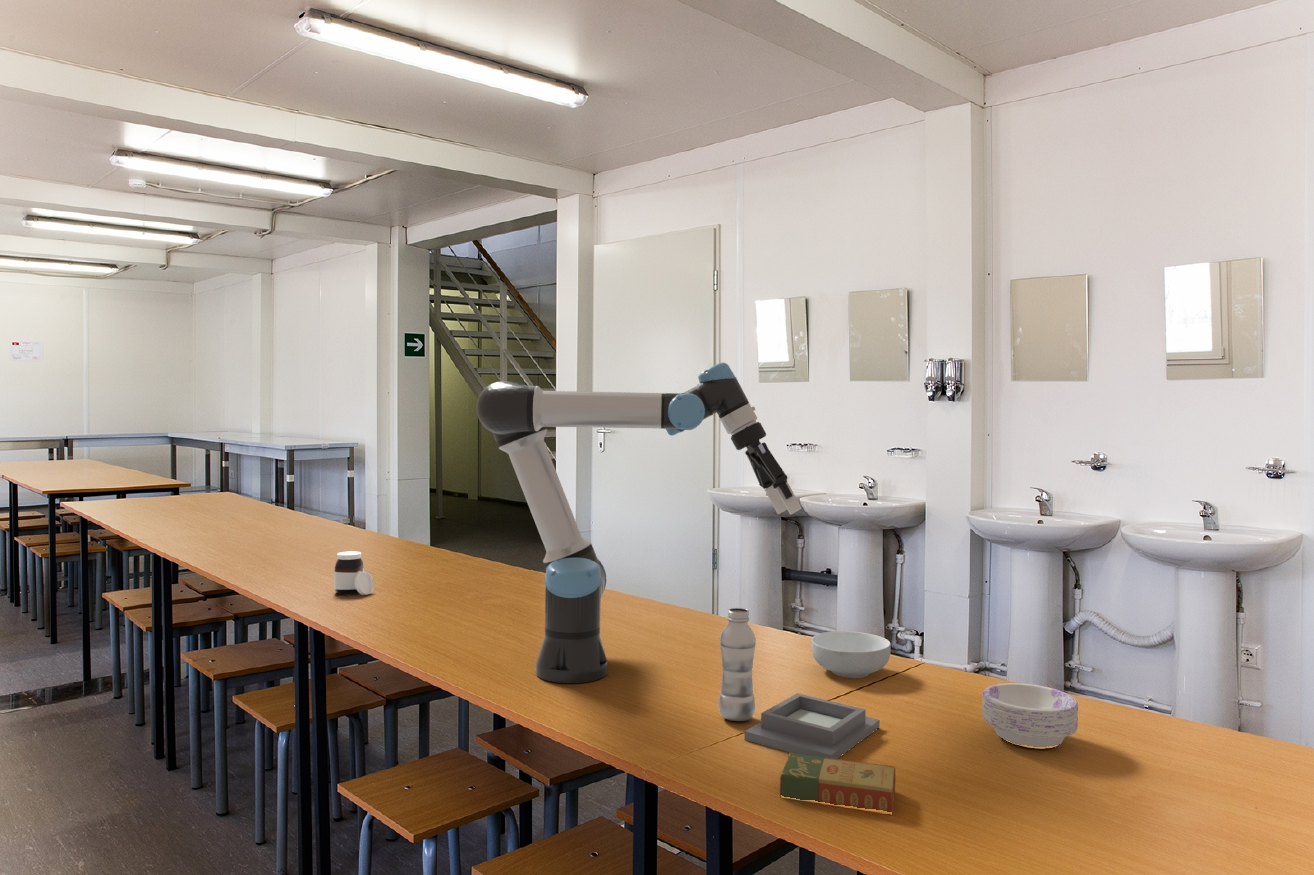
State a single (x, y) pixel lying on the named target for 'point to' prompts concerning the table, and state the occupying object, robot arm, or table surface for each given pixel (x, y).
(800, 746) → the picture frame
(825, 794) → the carton
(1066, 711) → the paper bowls
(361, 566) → the spread jar
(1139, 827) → the table surface
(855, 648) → the cereal bowl
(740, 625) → the plastic bottle
